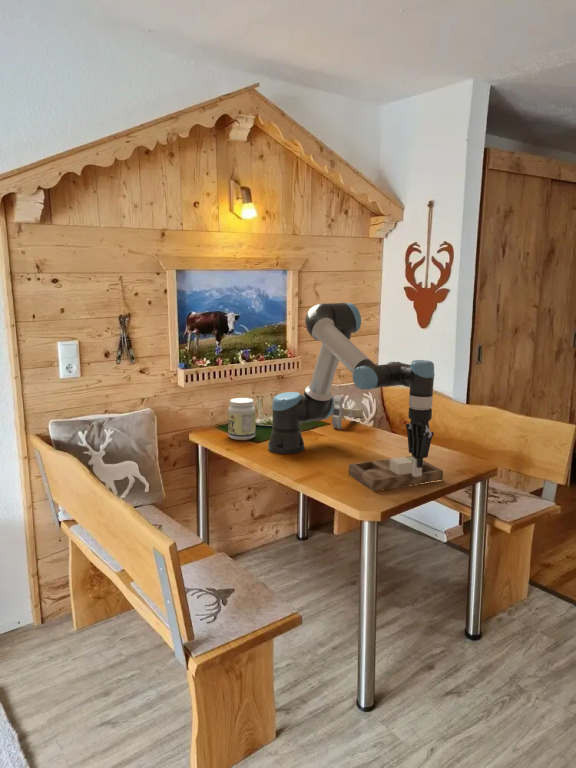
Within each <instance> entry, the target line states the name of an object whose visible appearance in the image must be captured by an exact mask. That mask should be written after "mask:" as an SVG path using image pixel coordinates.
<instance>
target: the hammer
mask: <svg viewBox="0 0 576 768" xmlns="http://www.w3.org/2000/svg"><path fill="white" fill-rule="evenodd" d="M344 396H345V395H335V396H334V397H333V399H334V403H335V404H334V410H333V413H332V414H331V417H332V418H331V424H332V427H333V428H334V429H336V430H337V429H338V430H343V425H342V418H343V417H348V418H357V419H361V418H362V417H363V414H364V412H363V409H361V408H345V407H343V404H344V402H345V397H344Z"/></svg>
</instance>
